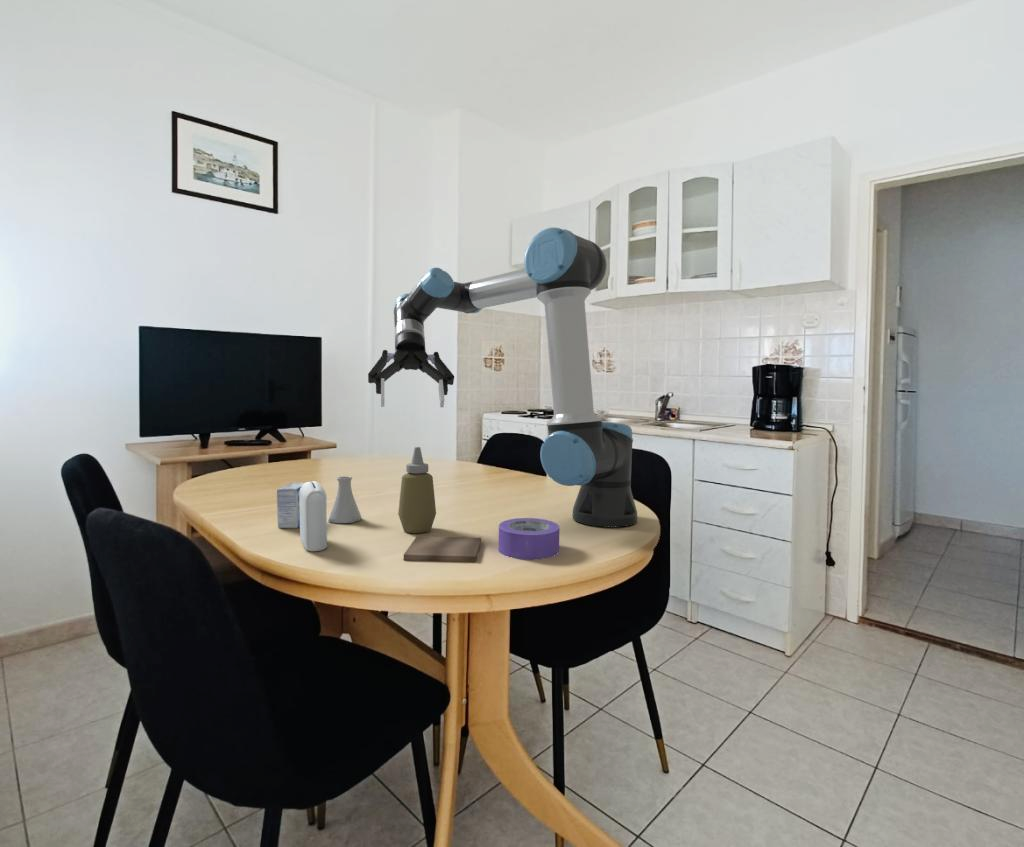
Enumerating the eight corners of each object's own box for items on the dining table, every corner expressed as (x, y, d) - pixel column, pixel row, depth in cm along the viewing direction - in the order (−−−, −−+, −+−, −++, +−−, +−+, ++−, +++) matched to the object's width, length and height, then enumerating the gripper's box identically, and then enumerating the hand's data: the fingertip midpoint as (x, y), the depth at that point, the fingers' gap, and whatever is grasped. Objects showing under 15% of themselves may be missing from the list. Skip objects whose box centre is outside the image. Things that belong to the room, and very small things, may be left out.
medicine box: (297, 528, 120) (297, 489, 120) (276, 528, 120) (276, 488, 120) (311, 519, 128) (310, 482, 128) (291, 519, 128) (291, 482, 128)
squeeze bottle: (400, 525, 124) (400, 445, 123) (437, 525, 125) (437, 445, 123) (395, 535, 116) (395, 449, 115) (435, 535, 117) (435, 449, 115)
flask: (352, 525, 124) (351, 480, 123) (322, 523, 125) (321, 479, 124) (366, 517, 131) (366, 475, 130) (338, 515, 132) (338, 474, 131)
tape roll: (556, 562, 101) (556, 535, 101) (492, 558, 103) (493, 531, 103) (561, 544, 113) (561, 519, 112) (504, 540, 115) (504, 516, 114)
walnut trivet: (481, 542, 112) (481, 537, 112) (475, 561, 100) (475, 556, 100) (416, 541, 112) (416, 536, 112) (403, 560, 101) (403, 554, 100)
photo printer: (298, 539, 113) (297, 478, 112) (320, 536, 115) (320, 477, 114) (305, 553, 103) (304, 487, 103) (329, 550, 105) (328, 485, 105)
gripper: (457, 353, 148) (464, 414, 135) (359, 350, 142) (357, 413, 129) (460, 332, 143) (468, 393, 129) (358, 327, 137) (356, 391, 123)
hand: (412, 403), depth 129 cm, fingers open, 13 cm apart
